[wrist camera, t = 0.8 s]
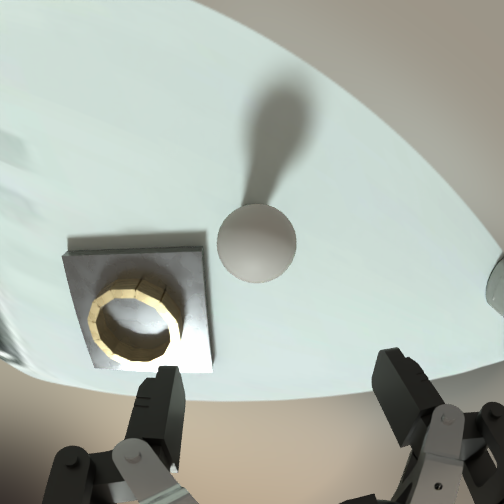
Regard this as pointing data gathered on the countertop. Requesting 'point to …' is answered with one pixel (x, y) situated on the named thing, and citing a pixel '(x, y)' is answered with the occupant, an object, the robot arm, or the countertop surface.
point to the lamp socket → (142, 307)
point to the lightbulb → (256, 243)
